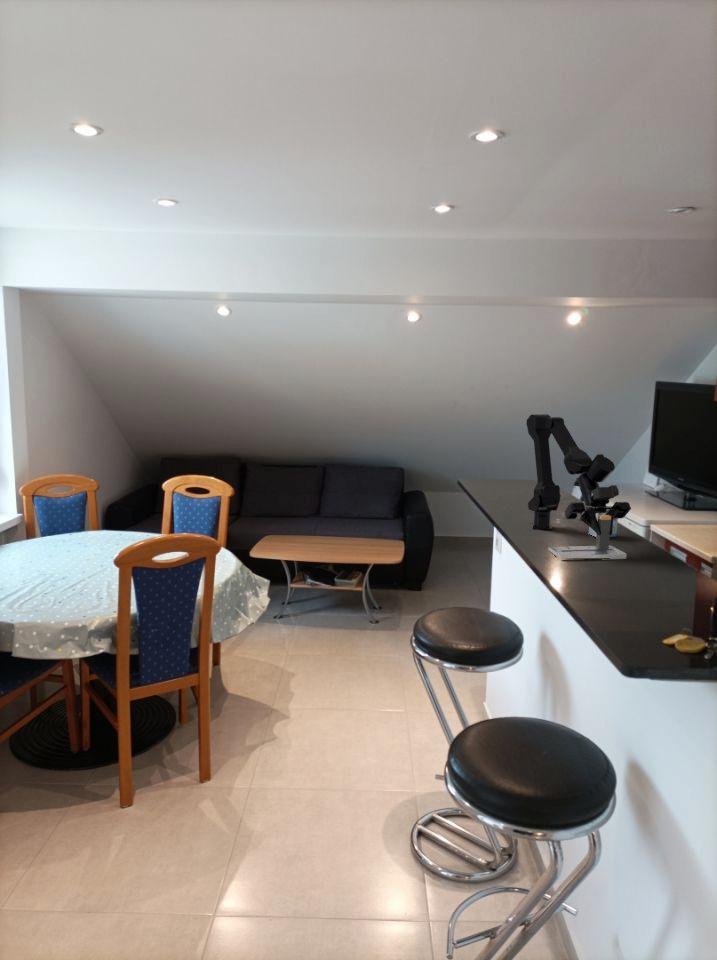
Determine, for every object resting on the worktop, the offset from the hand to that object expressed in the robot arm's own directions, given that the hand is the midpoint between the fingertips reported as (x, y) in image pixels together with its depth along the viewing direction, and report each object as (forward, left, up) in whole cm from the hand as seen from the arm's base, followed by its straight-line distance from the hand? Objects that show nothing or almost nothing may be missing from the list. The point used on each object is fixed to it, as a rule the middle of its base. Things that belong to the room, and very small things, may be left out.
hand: (605, 534), depth 191 cm
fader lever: (-1, 0, -5) cm, 5 cm away
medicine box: (-25, +4, -7) cm, 26 cm away
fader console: (0, -5, -7) cm, 8 cm away
